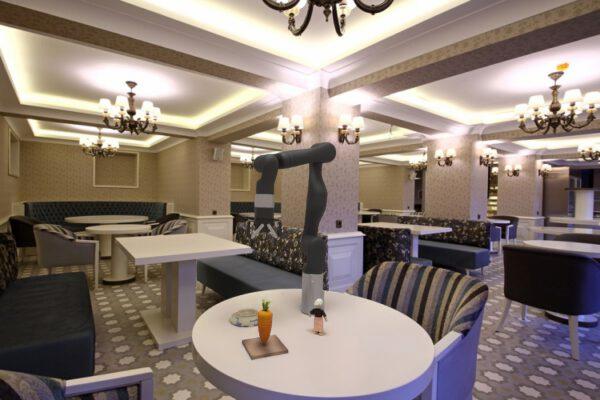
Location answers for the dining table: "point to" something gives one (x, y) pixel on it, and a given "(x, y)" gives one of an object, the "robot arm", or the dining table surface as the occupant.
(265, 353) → the walnut board
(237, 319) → the decorative bowl
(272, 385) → the dining table surface
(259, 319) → the carrot
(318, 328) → the grandmother figurine
